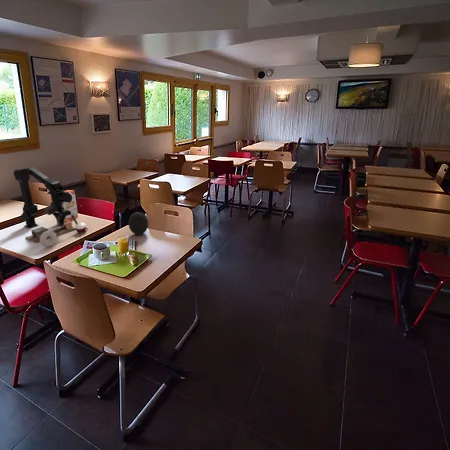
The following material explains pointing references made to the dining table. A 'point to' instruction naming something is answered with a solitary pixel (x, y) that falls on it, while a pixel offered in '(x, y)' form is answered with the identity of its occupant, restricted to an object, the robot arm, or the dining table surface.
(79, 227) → the cocoa
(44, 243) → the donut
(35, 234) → the base board
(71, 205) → the cracker box
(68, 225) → the socket block
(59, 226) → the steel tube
